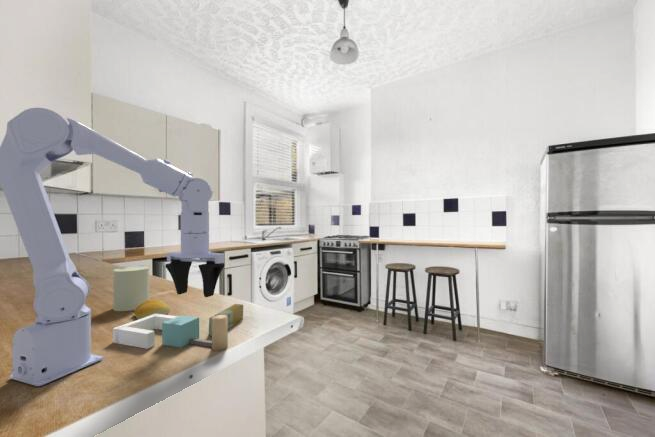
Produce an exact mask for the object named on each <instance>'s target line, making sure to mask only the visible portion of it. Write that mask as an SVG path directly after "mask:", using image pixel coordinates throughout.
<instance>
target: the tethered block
mask: <svg viewBox="0 0 655 437" xmlns="http://www.w3.org/2000/svg"><path fill="white" fill-rule="evenodd" d="M177 316H178V317H176V318H173V319H170V320H168V321H165V322H163V323H162V330H161V345H162V346H167V347H168V346H169V347H174V348H181V349H182V348H183V347H185V346H187V345H189V344H190V345H191V344H192V345H196V346H202V347H203V346H204V347H209V348H210V347H211V350H212V351H223V350H225V349H227V348H228V346H229V343H228V342H229V341H228V340H229V339H228V337H229V336H228V331H229V330H228V329H229V328H228V321H227V316H226V315H218V316H214V315H213V316H214V317H212V316H211V317H212V335H211V340H207V339H201V338H200V317H199V316H189V315H177Z"/></svg>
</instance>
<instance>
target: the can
mask: <svg viewBox="0 0 655 437" xmlns="http://www.w3.org/2000/svg"><path fill="white" fill-rule="evenodd" d="M112 274H113V276H112V277H113V308H112V310H113V311H115V312H129V311H134V310H135V308H136V307H137V306H138V305H140V304H141V303H143V302H144V301H147V300H150V267H149V266H144V265H143V266H142V265H141V266H139V265H138V266H124V267H119V268H115V269H113V270H112Z"/></svg>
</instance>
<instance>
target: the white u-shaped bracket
mask: <svg viewBox="0 0 655 437" xmlns="http://www.w3.org/2000/svg"><path fill="white" fill-rule="evenodd" d="M178 316H179V315H170V314H166V315H163V314H153V315H150V316H147V317H144V318H142V319H136V320H134V321H129V322H128V323H124V324H121V325H119V326H116V327H113V328H112V343H114V344H119V345H125V346H130V347H136V348H141V349H146V350H148V349H150V348H152V347H155V344H156V341H155V340H156V338H155V330H161V331H162V323H163V322H165V321H168V320H170V319H173V318H176V317H178Z"/></svg>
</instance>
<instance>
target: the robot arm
mask: <svg viewBox="0 0 655 437" xmlns="http://www.w3.org/2000/svg"><path fill="white" fill-rule="evenodd" d="M73 151H74V153H75V155H77V156H83V155H84V156H85V155H96V156H99V157H101V158H103V159H105V160H107V161H110V162H111V163H114V164H117V165H119V166H121V167H123V168H126V169H129V170H130V171H132V172H135V173H137V174H139V175H140V177H141V179H142V182H143V183H144V184H145V185H148V186H150V187H152V188H154V189H157V190H159V191H161V192H163V193H166V194H167V195H170V196H172V197H178V199H179V201H180V202H181V212H180V251H170V252H166V261H167V262H168V263H165V269H166V270H167V271H168V273H169V275H170V276H171V278H172V280H173V283H174V284H173V285H174V288H175V291H176V294H177V295H183V294H186V293H187V292H188V288H189V276H190V274H189V273H190V270H191V267H192V264H193V262H194V263H201V264H198V268H199V272H200V275H201V278H202V279H201V280H202V290H203V296H204V298H209V297H212V296H214V293H215V290H216V286H217V282H218V279H219V277H220V276H221V273H222V271H223V270H224V268H225V262H226V261H225V260H226V257H225V256H226V254H225V253H223V252H222V253H221V252H212V251H211V250H210V211H209V207H210V206H209V201H210V200H211V199H212V196H213V193H214V192H213V190H212V188H211V186H210V184H209V183H208V182H207V181H205V180H204V179H202V178H198V177H194V178H193V176H194V174H193V173H191V172H190V171H188V172H185V171H184V170H181V169H180V168H177V167H175V166H174V165H171V163H172V162H171V160H168V159H166V158H165V159H163V160H161V159H160V158H153V159H146V158H144V157H143V156H141V155H140V154H137V153H136V152H134V151H132V150H130V149H128V148H126V147H125V146H123V145H121V144H120V143H117V142H115V141H114V140H112V139H110V138H108V137H107V136H105V135H103V134H102V133H99V132H98V131H96V130H94V129H92V128H90V127H88V126H87V125H85V124H82V123H81V122H79V121H77V120H74V119H72V118H69V117H66V119H65V118H64V117H62V115H61V114H59V113H58V112H56V111H53V109H48V108H45V107H30V108H28V109H24V110H23V111H21V112H20V113H17V115H16V116H14V117H13V118H11V119H10V120H9V121H7V123H6V132H5V135H4V137H3V140H2V142H1V143H0V186H1V188H2V192H3V193H4V196H5V199H6V201H7V203H8V206H9V209H10V212H11V215H12V217H13V220H14V222H15V225H16V228H17V230H18V233H19V236H20V239H21V240H22V243H23V245H24V247H25V251H26V253H27V256H28V258H29V261H30V263H31V267H32V270H33V271H32V272H33V275H32V279H33V280H32V282H33V286H34V289H35V295H34V300H33V309H34V312H35V313H36V314H37V315H36V316H35V320H34V322H32V323H30V324H29V325H27V326H24V327H23V326H22V327H21V328H19V329H17V330H16V331H15V332H14V334H13V337H12V344H11V345H12V352H11V353H12V355H11V356H12V359H11V360H12V371H11V372H12V374H10V375H9V378H10V379H11V380H14V381H18V382H22V383H25V384H28V385H32V386H35V387H41V386H44V385H46V384H48V383H51V382H53V381H55V380H57V379H60V378H62V377H65V376H67V375H69V374H71V373H74V372H76V371H78V370H80V369H83V368H85V367H87V366H91V365H92V364H95V363H97V362H100V361H102V360H103V358H104V357H103V356H102V355H98V354H93V353H92V337H91V336H92V313H91V312H92V309H91V308H90V307H88V306H87V305H86V304H85V302H86V299H87V298H88V297H89V294H90V288H91V287H90V285H89V282H88V281H87V280H86V279H85V278H84V277H82V276H81V275H80V273H79V272H78V270H77V267H76V265H75V264H74V262H73V260H72V259H71V257H70V254H69V251H68V249H67V246H66V243H65V240H64V238H63V235H62V233H61V228H60V227H59V224H58V221H57V218H56V216H55V214H54V211H53V207H52V204H51V202H50V199H49V197H48V196H49V195H48V194H47V191H46V189H45V185H44V182H43V180H42V177H41V174H42V172H44V171H45V169H47V168H48V167H49V166H50V165H51V164H52V163H53V162H55V161H57V160H59V159H61V158H64V157H66V156H67V155H69V154H71V153H72V152H73ZM169 262H170V263H169Z"/></svg>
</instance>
